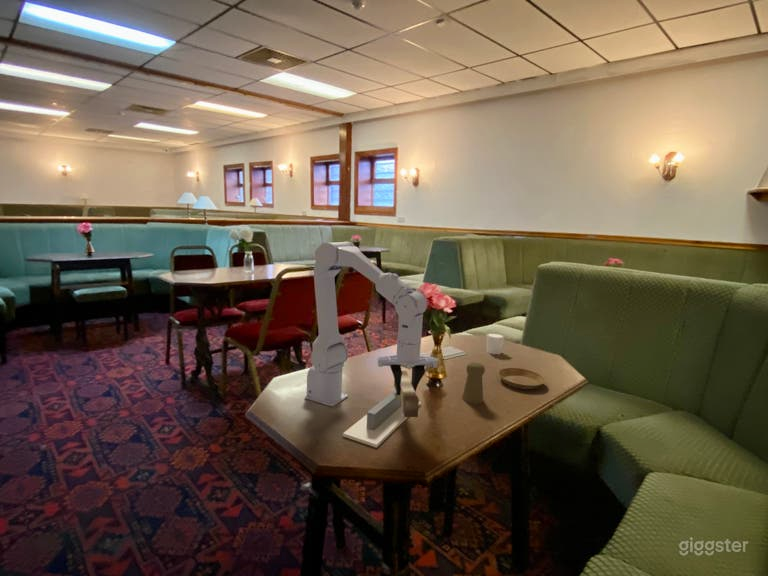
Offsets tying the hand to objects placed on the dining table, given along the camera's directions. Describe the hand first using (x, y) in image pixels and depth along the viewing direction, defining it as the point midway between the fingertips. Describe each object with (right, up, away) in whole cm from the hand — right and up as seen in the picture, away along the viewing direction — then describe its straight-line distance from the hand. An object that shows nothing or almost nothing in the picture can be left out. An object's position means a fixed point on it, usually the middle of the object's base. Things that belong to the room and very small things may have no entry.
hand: (405, 393), depth 104 cm
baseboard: (+13, -1, +53) cm, 54 cm away
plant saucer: (+40, -5, +34) cm, 52 cm away
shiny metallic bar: (0, -2, +1) cm, 2 cm away
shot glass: (+39, 0, +64) cm, 75 cm away
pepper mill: (+21, -7, +19) cm, 29 cm away
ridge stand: (-5, -8, +4) cm, 10 cm away
